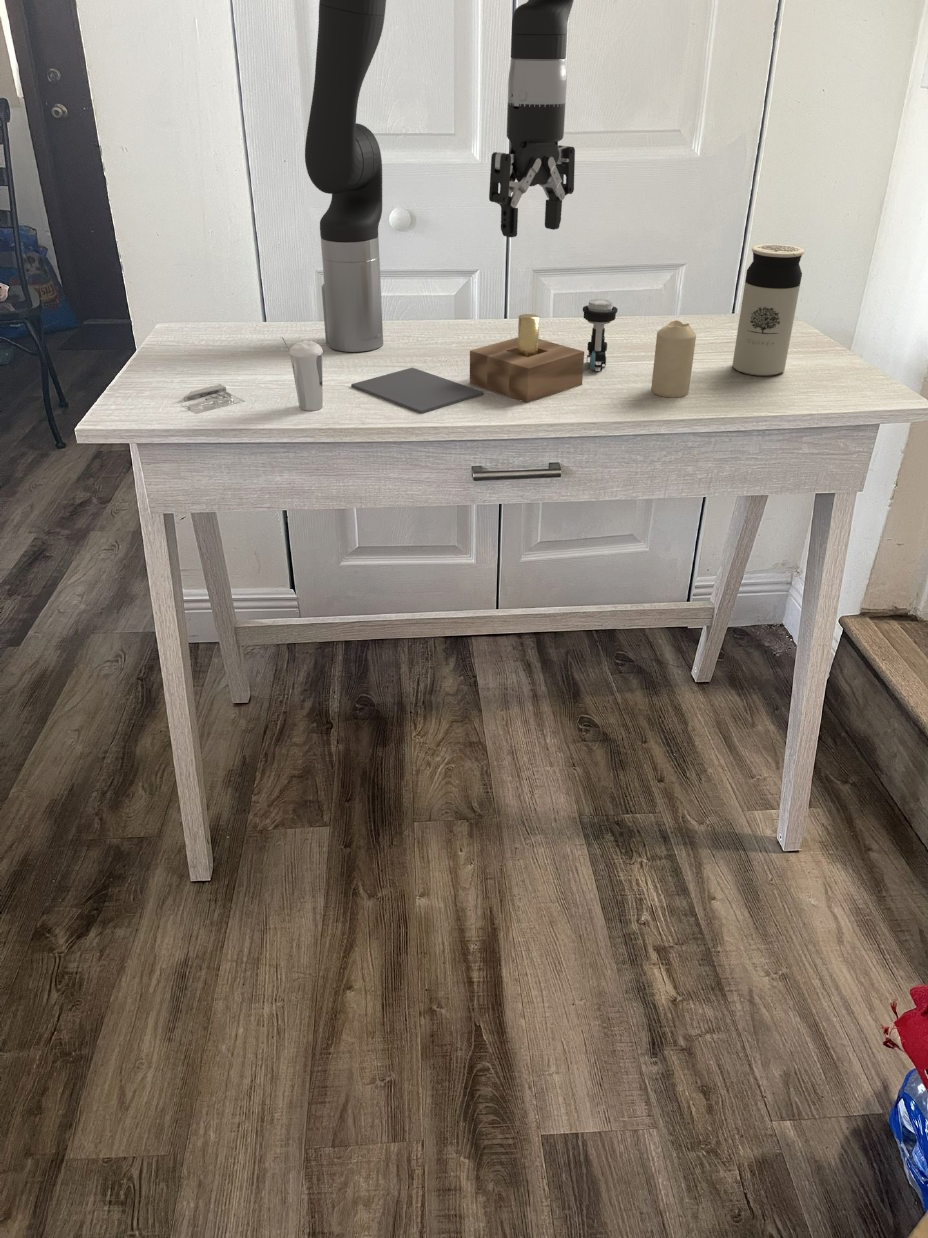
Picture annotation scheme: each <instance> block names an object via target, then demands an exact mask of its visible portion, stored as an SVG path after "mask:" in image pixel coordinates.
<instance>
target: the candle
mask: <svg viewBox="0 0 928 1238" xmlns="http://www.w3.org/2000/svg"><path fill="white" fill-rule="evenodd" d="M696 340H697V333H696V332H695V331H694V329H693V328H692V326H691V325H690V323H682V321H680V320H678V319H677V320H671V321H670V322H669V323H668V324H666V325H664V326H663V327H662V328H660V329H659V330H658V331H657V332H656V340H655V350H654V361H653V367H652V369H653V370H652V378H651V387H650V388H651V389H650V391H651V392H652V394H655V395H656V396H660V397H665V398H681V397H684V396H688V394H689V392H690V387H691V386H690V385H691V380H692V379H691V378H692V372H693V363H694V355H695V349H696Z"/></svg>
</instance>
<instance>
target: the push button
mask: <svg viewBox="0 0 928 1238" xmlns="http://www.w3.org/2000/svg"><path fill="white" fill-rule="evenodd" d="M582 312H583V319H585V321H587V323H589V324H592V325H593V327H592V329H591V330H592V331H591V338H590V341H588V342H587V349H586V350H587V351H588V353H587V354H586V362H585V363H586V364H585V365H586V366H588V358H589V364H590V370H591V371H595V372H602V371H603V365H604V367H606V365H607V355H606V352H607V351H608V342H606V341H605V339H606V337H605V331H606V328H605V325H608V324H610V323H611V322H613V321H615V320H616V315H617V314H618V307H616V306H613V301H612V300H610V299H604V298H603V299H602V298H600V299H598V298H596V299H595V298H594V299H591V300H589V301H588V305H584V306H583V307H582Z"/></svg>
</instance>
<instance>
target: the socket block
mask: <svg viewBox="0 0 928 1238" xmlns="http://www.w3.org/2000/svg"><path fill="white" fill-rule="evenodd" d="M584 361H585V351H584V350H580V349H577V348H572V347H570V346H565V345H563V344H559V343H554V342H552V341H547V340H544V339H540V338H538V354H537V355H534V356H530V357H525V356H521V355H518V336H517V337H514V338H510V339H507V340H503V341H499V342H496V343H492V344H488V345H484V346H480V347H477V348H474V349H469V384H471V385H473V386H477V387H479V388H482V389H485V390H487V391H488V390H489V391H490V392H493V393H497V394H499V395H502V396H504V397H505V396H506V397H507V398H511V399H515V400H517V401H521V402H524V403H527V404H528V403H531V402H534V401H537V400H541V399H543V398H546V397H549V396H552V395H555V394H558V393H561V392H563V391H567V390H569V389H573V388H575V387H580V386H582V385H583V376H584Z"/></svg>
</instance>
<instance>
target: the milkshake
mask: <svg viewBox="0 0 928 1238" xmlns="http://www.w3.org/2000/svg"><path fill="white" fill-rule="evenodd" d="M281 339H282V341H283V342H284V344H285V346H286V349H287V350H288V353H289V357H290V363H291V369H292V374H293V378H294V384H295V389H296V390H295V391H296V396H297V403H298V407H299V409H300V410H302V411H306V412H312V411H317V410H321V409H322V408H323V407H324V403H323V401H324V399H323V395H324V394H323V393H324V392H323V385H324V384H323V355H324V353H323V348H322V346H321V345H320V344H318V343H316V342H315V341H312V340H302V341H301V342H296V343H294V344H293V345H292V346H291V347H290V349H289V347H288V345H287V343H286V340H285V339H284V338H283V336H281Z"/></svg>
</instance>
